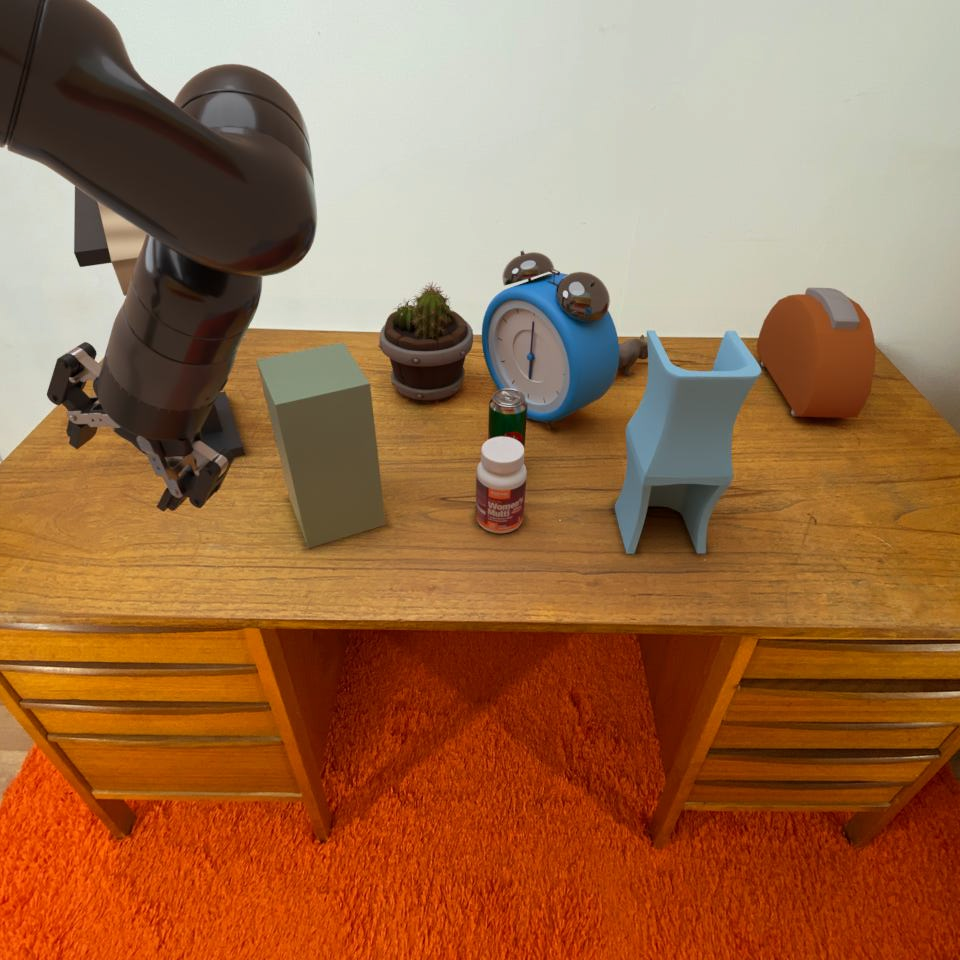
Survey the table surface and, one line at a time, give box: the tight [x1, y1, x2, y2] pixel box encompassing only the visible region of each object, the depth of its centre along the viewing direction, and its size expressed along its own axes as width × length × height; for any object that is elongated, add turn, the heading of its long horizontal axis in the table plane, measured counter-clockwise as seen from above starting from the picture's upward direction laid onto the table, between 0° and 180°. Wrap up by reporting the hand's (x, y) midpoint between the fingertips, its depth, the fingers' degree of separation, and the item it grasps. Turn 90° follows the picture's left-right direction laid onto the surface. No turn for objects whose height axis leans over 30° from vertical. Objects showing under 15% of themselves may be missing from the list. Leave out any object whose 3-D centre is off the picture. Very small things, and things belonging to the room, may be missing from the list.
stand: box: [73, 185, 246, 468], centre depth 85 cm, size 34×10×34 cm, turn 26°
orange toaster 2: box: [756, 287, 877, 419], centre depth 102 cm, size 23×9×17 cm, turn 179°
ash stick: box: [98, 203, 146, 297], centre depth 62 cm, size 28×4×3 cm, turn 28°
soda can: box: [487, 389, 528, 450], centre depth 86 cm, size 5×5×12 cm
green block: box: [256, 341, 387, 550], centre depth 76 cm, size 10×10×21 cm
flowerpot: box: [377, 281, 474, 404], centre depth 100 cm, size 14×15×20 cm
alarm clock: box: [481, 250, 620, 431], centre depth 95 cm, size 20×10×23 cm, turn 41°
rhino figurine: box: [618, 334, 648, 377], centre depth 109 cm, size 4×14×6 cm, turn 123°
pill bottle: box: [475, 437, 528, 534], centre depth 79 cm, size 6×6×11 cm
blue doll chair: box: [614, 329, 762, 555], centre depth 74 cm, size 10×10×25 cm
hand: (125, 472), depth 55 cm, fingers open, 8 cm apart
